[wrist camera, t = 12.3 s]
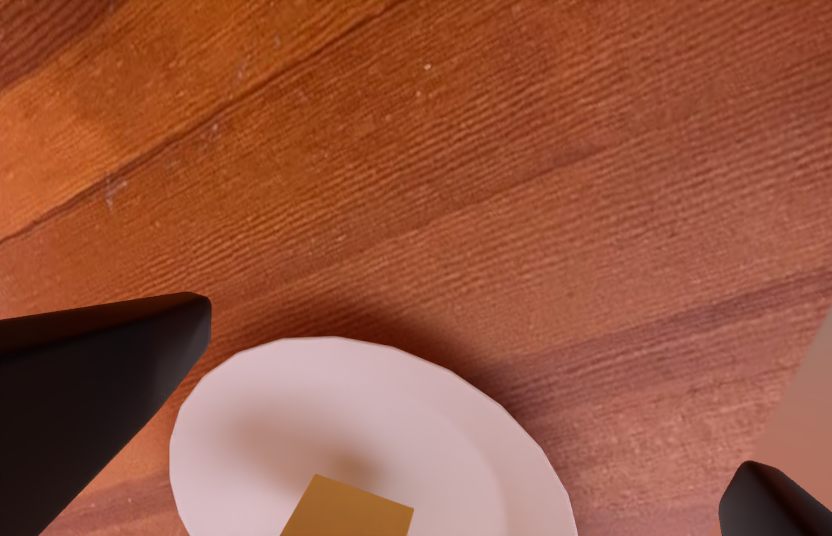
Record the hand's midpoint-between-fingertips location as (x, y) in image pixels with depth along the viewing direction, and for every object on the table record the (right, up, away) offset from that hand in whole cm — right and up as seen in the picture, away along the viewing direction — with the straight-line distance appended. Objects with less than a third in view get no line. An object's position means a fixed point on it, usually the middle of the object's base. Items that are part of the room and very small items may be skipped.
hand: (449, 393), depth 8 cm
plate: (-3, -10, +19) cm, 21 cm away
